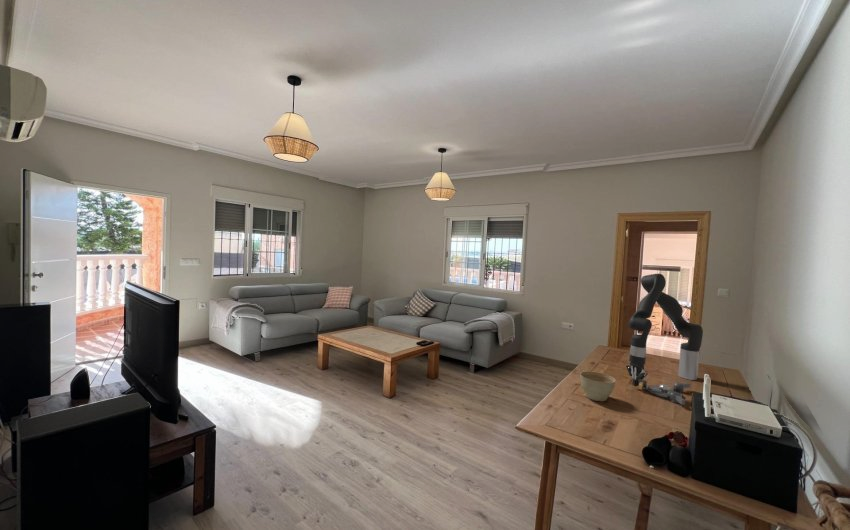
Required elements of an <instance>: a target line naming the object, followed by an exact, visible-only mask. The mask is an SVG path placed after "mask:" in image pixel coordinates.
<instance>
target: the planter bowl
mask: <svg viewBox="0 0 850 530" xmlns="http://www.w3.org/2000/svg"><path fill="white" fill-rule="evenodd" d="M579 376H580V377H579V378H580V385H581V388H582V390H583V391H584V393H585V397H587V399H589V400H591V401H597V402H605V401H607V399H608V398H609V397H610V396H611V395H612V393H613V392H614V389H615V387H616V386H615V385H616V383H617V382H616V381H617V380H616V378H615V377H613V376H611V375H609V374H606V373H603V372H598V371H592V370H591V371H581V372H580V374H579Z"/></svg>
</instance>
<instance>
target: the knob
mask: <svg viewBox="0 0 850 530" xmlns="http://www.w3.org/2000/svg"><path fill="white" fill-rule="evenodd" d="M680 395H681V394H680V393H678V392H674V391H670V397H669V398H670V399H671V400H674V401H678V402H679V404H680V405H683V406H685V405H686V399H684V398H683V397H682V398H681V397H680Z"/></svg>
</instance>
